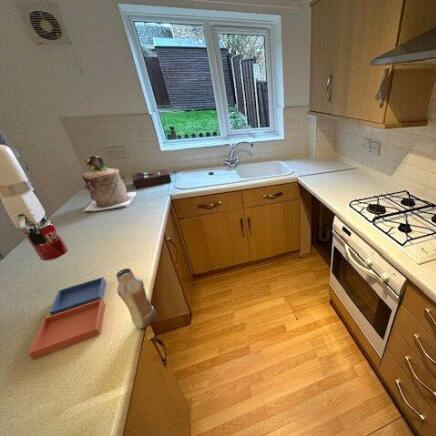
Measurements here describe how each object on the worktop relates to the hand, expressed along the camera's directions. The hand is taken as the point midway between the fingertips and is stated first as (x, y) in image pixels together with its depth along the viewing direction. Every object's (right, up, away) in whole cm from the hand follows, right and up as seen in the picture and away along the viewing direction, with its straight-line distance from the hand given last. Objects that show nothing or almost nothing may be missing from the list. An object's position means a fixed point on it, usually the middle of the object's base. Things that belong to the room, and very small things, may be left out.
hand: (44, 237), depth 80 cm
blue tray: (+8, -22, +5) cm, 24 cm away
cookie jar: (-36, +17, +78) cm, 88 cm away
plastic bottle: (+37, -26, -5) cm, 46 cm away
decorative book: (-28, +35, +111) cm, 120 cm away
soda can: (0, -7, +4) cm, 7 cm away
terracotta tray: (+15, -27, -6) cm, 32 cm away
